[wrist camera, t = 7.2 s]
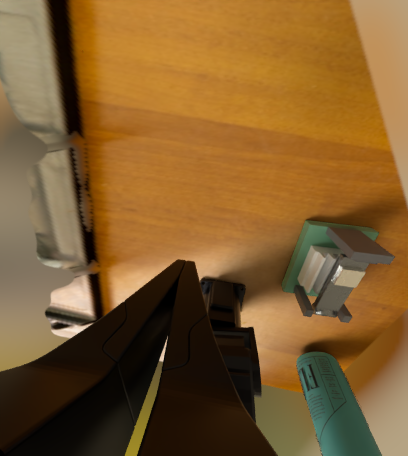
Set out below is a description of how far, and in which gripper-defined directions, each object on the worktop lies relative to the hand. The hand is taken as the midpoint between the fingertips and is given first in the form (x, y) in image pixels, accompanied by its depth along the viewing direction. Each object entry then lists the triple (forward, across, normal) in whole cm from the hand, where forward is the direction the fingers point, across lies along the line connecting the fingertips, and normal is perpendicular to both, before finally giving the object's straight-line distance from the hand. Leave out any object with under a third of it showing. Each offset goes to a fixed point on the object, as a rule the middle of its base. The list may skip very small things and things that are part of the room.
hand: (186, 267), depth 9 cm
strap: (+9, -15, +7) cm, 19 cm away
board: (+13, -14, +7) cm, 21 cm away
